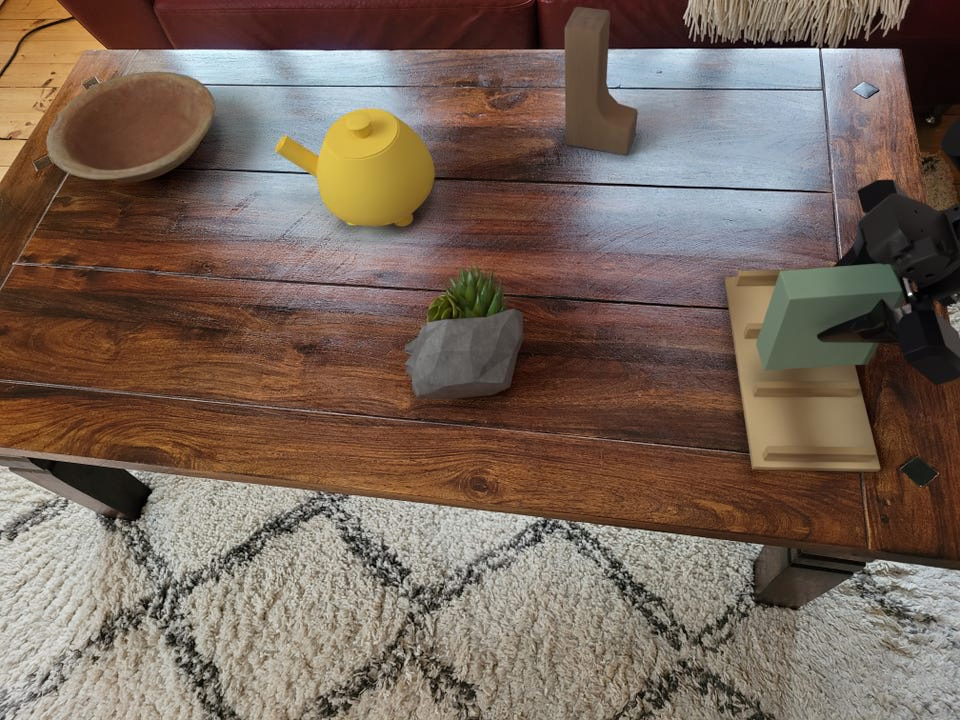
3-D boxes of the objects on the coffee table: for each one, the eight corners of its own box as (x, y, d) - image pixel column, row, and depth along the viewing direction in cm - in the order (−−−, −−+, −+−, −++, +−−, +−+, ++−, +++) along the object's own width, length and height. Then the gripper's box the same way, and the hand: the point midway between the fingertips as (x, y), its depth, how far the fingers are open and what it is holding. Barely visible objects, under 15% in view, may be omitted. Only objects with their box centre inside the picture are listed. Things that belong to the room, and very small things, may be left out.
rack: (830, 279, 80) (838, 264, 78) (878, 472, 68) (889, 461, 66) (724, 280, 82) (729, 266, 79) (752, 469, 69) (758, 459, 67)
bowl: (213, 211, 97) (186, 169, 91) (58, 221, 100) (21, 181, 93) (245, 101, 110) (224, 57, 103) (106, 112, 112) (76, 70, 105)
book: (856, 336, 71) (894, 261, 62) (867, 364, 69) (909, 290, 60) (755, 343, 72) (779, 270, 63) (763, 371, 70) (789, 299, 61)
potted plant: (387, 401, 74) (389, 272, 78) (483, 412, 82) (481, 294, 85) (447, 378, 65) (445, 233, 69) (550, 392, 72) (543, 260, 76)
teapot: (286, 241, 93) (245, 164, 81) (314, 159, 101) (280, 79, 89) (429, 244, 90) (408, 165, 78) (447, 160, 97) (430, 76, 86)
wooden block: (636, 134, 96) (648, 13, 81) (627, 156, 94) (638, 36, 79) (574, 124, 98) (574, 4, 83) (564, 145, 96) (563, 27, 81)
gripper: (927, 100, 55) (752, 201, 66) (1000, 288, 45) (781, 370, 56) (985, 170, 60) (814, 253, 71) (1060, 351, 51) (850, 414, 62)
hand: (814, 315), depth 65 cm, fingers closed on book, 5 cm apart
